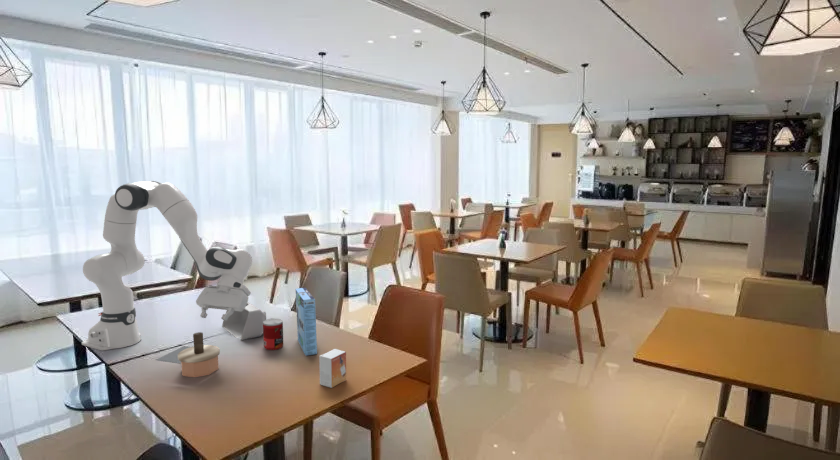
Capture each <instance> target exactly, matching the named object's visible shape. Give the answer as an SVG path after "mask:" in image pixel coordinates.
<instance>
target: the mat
mask: <svg viewBox="0 0 840 460" xmlns="http://www.w3.org/2000/svg"><path fill="white" fill-rule="evenodd" d="M190 347H191V346H189V345H188V346H186V345H183V346H181V347H179V348H176V349H175V350H173V351H170V352H168V353H166V354H165V355H162V356H160V357H158V358H156V359H155V361H159V362H167V363H173V364H180V365H181V361H179V360H178V354H179V353H180V352H181V351H183V350H185V349H187V348H190Z"/></svg>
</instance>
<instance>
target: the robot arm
mask: <svg viewBox="0 0 840 460" xmlns="http://www.w3.org/2000/svg"><path fill="white" fill-rule="evenodd" d="M114 192H115V193H114V194H112V195H111V196H110V197H109V200H108V203H107V206H106V210H105V214H104V220H103V221H104V223H103V229H102V237H103V239H104V240H105V242H107V243H109V244H110V252H105V253H101V254H97V255H94V256H93V257H91V258H90V257H89V259H87V260H86V261H85V262H84V263H83V265H82V272H83V273H82V274H83V275H84V277H85V279H87V280H88V281H89V282H91V283H93V284H95V286H96V287H97V289H98V291H99V293H100V296H101V304H102V312H98V313H97V315H98V317H99V316H100V319H99V321H97V323H95V324H94V325H93V326H92V327H90V328H89V330H88V334H87V335H88V336H87V337H88V338H86V339H84V340H83V341H82V342H81V345H82V346H85V347H88V348H91V349H95V350H98V351H101V352H102V351H109V350H114V349H120V348H125V347H127V348H128V347H129V346H133V345H135V344H137V343H139V342H140V341H141V340H142V338H141V332H140V331H139V325H138V320H137V318H136V317H137V314H136V313H137V311H136V307H135V304H134V292H133V290H132V289H131V288H130V287H129V286H126V285H125V284H124V282H123V279H122V278H123V277H126V276H129V275H132V274H134V273H137V272H139V271H140V270H141V269H143V267H144V266H145V256H144V254H143V253H142V252H141V251H140V250H139V249H138V247H137V245H136V240H135V239H136V227H137V218H138V213H139V211H142V210H148V209H151V208H156V209H158V211H159V212H160V214H161V215H162V216H163V218H164V219H165V220H166V221H167V223H168V224H169V226H170V227H171V228H172V229H173V231H174V232H175V234H176V235H177V237H178V238H179V240H180V242H181V244H182V245H183V246H184V247H185V249H186V250H187V252H188V253H189V255H190V256H191V258H192V260H193V261H194V263H195V266H196V269H197V273H198V275H199V276H200V278H202V279H203V280H205V281H209V282H210V281H211V282H212V281H216V280H217V284H216V285H212V284H211V285H208V286H205V287H204V289H203V290H202V291H201V292H200V294H199V295H198V296H197V299H196V300H195V303H196V305H197V306H198V307H200V308H201V313H200V318H201V319H206V318H207V316H208V313H207V311H208V310H209V309H214V310H221V311H222V310H225V311H227V310H228V312H227V313H226V312H225V313H223V314H222V315H221V320H222V321H223V320H227V319H228V317H229V316H230V315H232V314H233V312H234V311H240V312H241V311H243V310H244V309H245V307H246V305H247V302H249V296H250V295H251V291H250V289H249V288H248V287H247V286H246V285H245V284H244V282H245V279H246V278H247V276H248V275H249V272H250V271H251V267H252V265H253V258H252V257H253V256H251V254H250V253H249V252H248V251H246V250H244V249H241V248H238V249H229V248H228V249H227V248H224V247H222V246H212V247H211V248H209V249H207V248H206V246H205V244H204V243H203V242H202V240H201V239H200V237H199V234H198V213H197V211H196V209H195V207H194V205H193V204H192V202H190V200H189V198H187V196H186V195H185V194H184V193H183V192H182V191H181V190H180V189H179V188H178V187H176V186H175V184H173V183H171V182H163V183H162V182H160V181H157V180H155V181H154V180H151V181H150V180H149V181H146V180H145V181H143V180H142V181H141V180H140V181H137V182H131V183H130V182H128V183H125V184H122V185H120V186H119V187H118V188H116V190H115V191H114Z"/></svg>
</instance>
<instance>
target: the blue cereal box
mask: <svg viewBox="0 0 840 460" xmlns="http://www.w3.org/2000/svg"><path fill="white" fill-rule="evenodd" d="M295 302H296V303H295V305H296V325H297V326H296V328H297V331H296V332H297V342H298V343H299V345H300V348H301V350H302V352H303V354H304V355H305V356H306V357H307V356H312V355H313V356H314V355H317V354H318V342H317V317H316V315H317V314H316V312H317V311H316V298H315V297H314V296H313V294H311V292H310V291H309V290H308V288H307V287H299V288H298V287H297V288H295Z"/></svg>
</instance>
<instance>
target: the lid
mask: <svg viewBox="0 0 840 460" xmlns="http://www.w3.org/2000/svg"><path fill="white" fill-rule="evenodd" d="M192 336H193V346H189V347H190V348H187V349H185V350H183V351H181V352H180V353H179V354H178V360H179V361H181V362H187V363H195V362H202V361H207V360H210V359H212V358H215V357H216V356H218V357H219V355H220V353H221V349H220V347H219V346H216V345H210V344H204V333H203V332H201V331H200V332H194V333H193V334H192Z"/></svg>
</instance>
